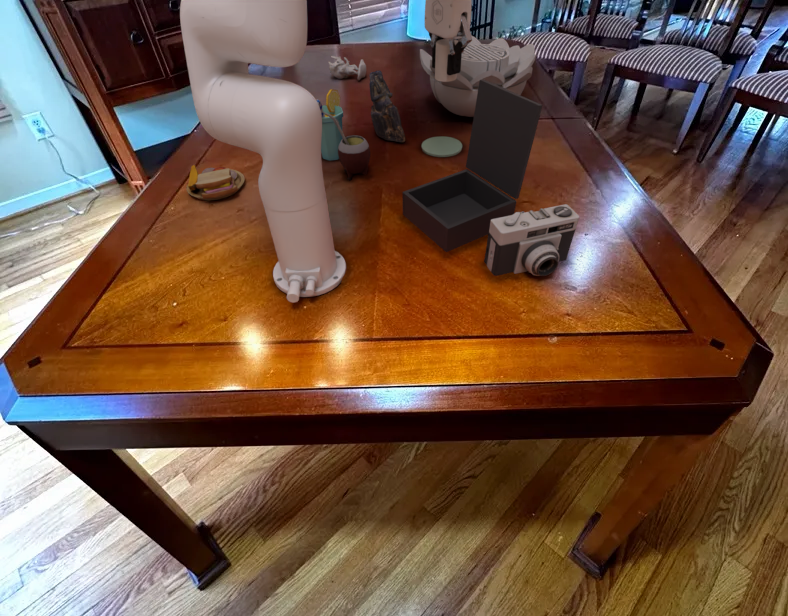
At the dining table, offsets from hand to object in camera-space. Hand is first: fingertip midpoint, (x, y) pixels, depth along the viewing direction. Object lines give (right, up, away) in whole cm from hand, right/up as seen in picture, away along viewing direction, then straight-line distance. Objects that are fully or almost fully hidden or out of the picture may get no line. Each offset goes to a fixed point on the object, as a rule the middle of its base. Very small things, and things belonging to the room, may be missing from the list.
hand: (445, 69), depth 97 cm
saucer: (+1, -12, +13) cm, 18 cm away
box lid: (+7, -22, -17) cm, 28 cm away
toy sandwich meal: (-50, -25, +3) cm, 56 cm away
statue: (-13, -8, +18) cm, 24 cm away
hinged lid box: (+1, -35, -9) cm, 36 cm away
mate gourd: (-20, -22, +5) cm, 30 cm away
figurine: (-26, +24, +50) cm, 61 cm away
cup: (-26, -15, +11) cm, 33 cm away
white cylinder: (0, -1, +1) cm, 2 cm away
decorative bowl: (+12, +4, +29) cm, 31 cm away
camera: (+12, -45, -20) cm, 51 cm away
